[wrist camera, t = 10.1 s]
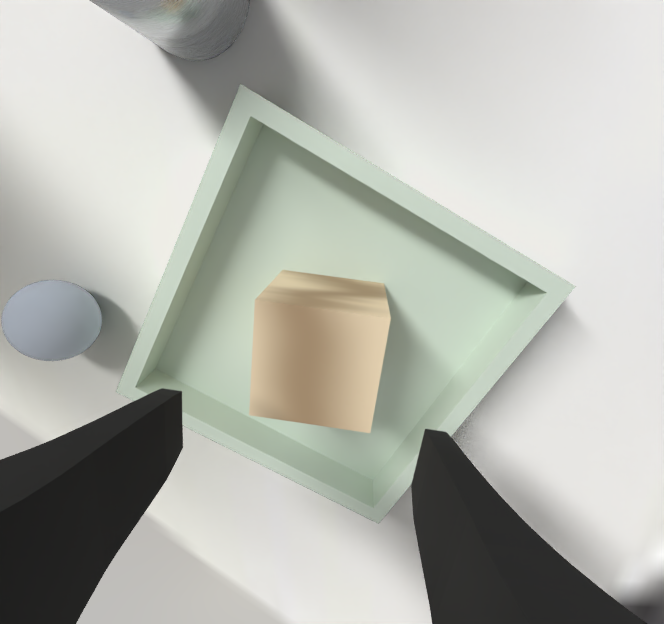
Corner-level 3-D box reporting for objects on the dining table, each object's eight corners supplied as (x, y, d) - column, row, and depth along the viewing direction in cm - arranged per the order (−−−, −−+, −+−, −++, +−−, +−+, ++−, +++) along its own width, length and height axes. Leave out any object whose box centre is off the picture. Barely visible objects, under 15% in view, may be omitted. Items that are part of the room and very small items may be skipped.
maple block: (383, 283, 18) (390, 318, 14) (368, 373, 20) (370, 433, 15) (282, 269, 19) (254, 299, 14) (275, 360, 20) (249, 415, 15)
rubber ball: (128, 295, 20) (74, 321, 16) (106, 353, 21) (51, 390, 18) (58, 258, 20) (-14, 276, 16) (40, 319, 21) (-31, 349, 17)
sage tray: (548, 272, 18) (575, 286, 16) (377, 488, 23) (378, 523, 21) (258, 97, 17) (240, 83, 14) (142, 368, 22) (115, 392, 19)
